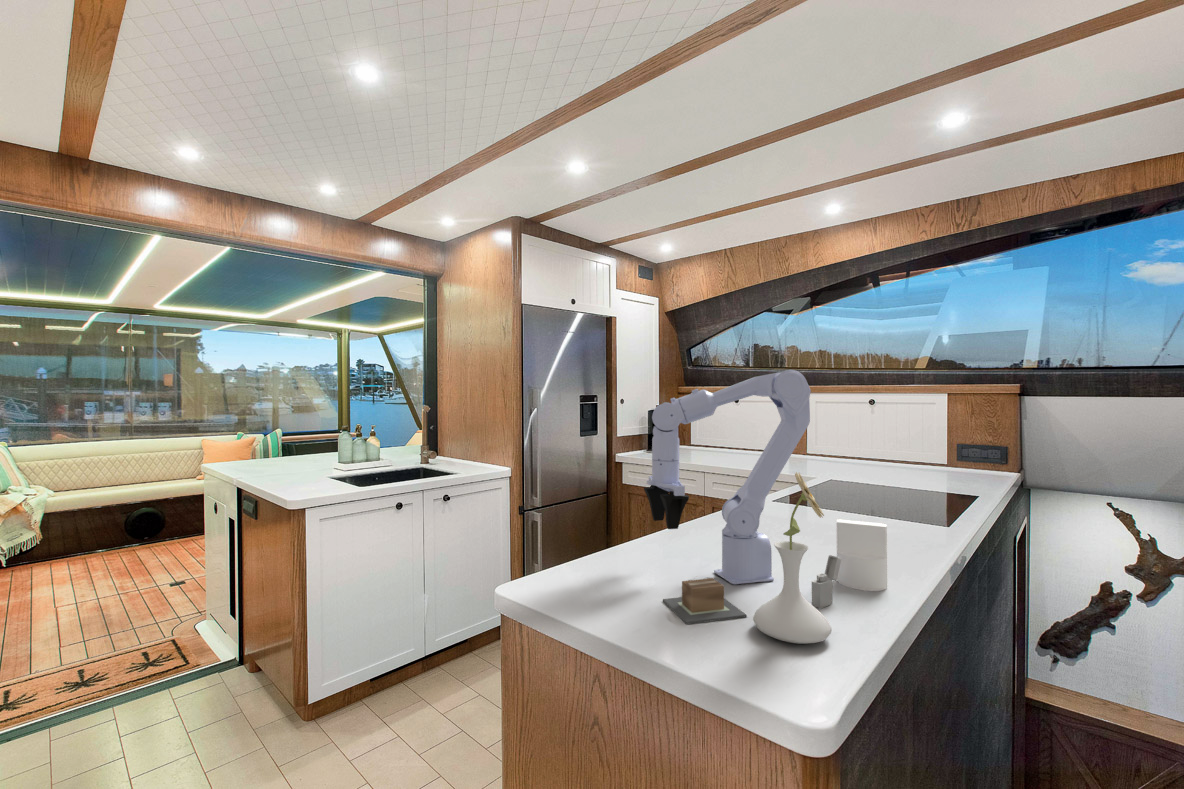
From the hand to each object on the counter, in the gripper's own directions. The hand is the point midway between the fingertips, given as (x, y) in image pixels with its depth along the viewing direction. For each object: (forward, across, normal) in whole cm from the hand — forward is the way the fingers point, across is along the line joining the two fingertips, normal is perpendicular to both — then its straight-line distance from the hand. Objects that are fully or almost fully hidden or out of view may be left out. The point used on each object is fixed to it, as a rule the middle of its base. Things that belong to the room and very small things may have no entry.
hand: (665, 524), depth 109 cm
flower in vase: (+10, +31, +8) cm, 34 cm away
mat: (+10, +19, -1) cm, 22 cm away
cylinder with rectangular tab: (+10, +15, +36) cm, 40 cm away
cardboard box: (+10, +19, -1) cm, 21 cm away
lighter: (+10, +22, +22) cm, 33 cm away
